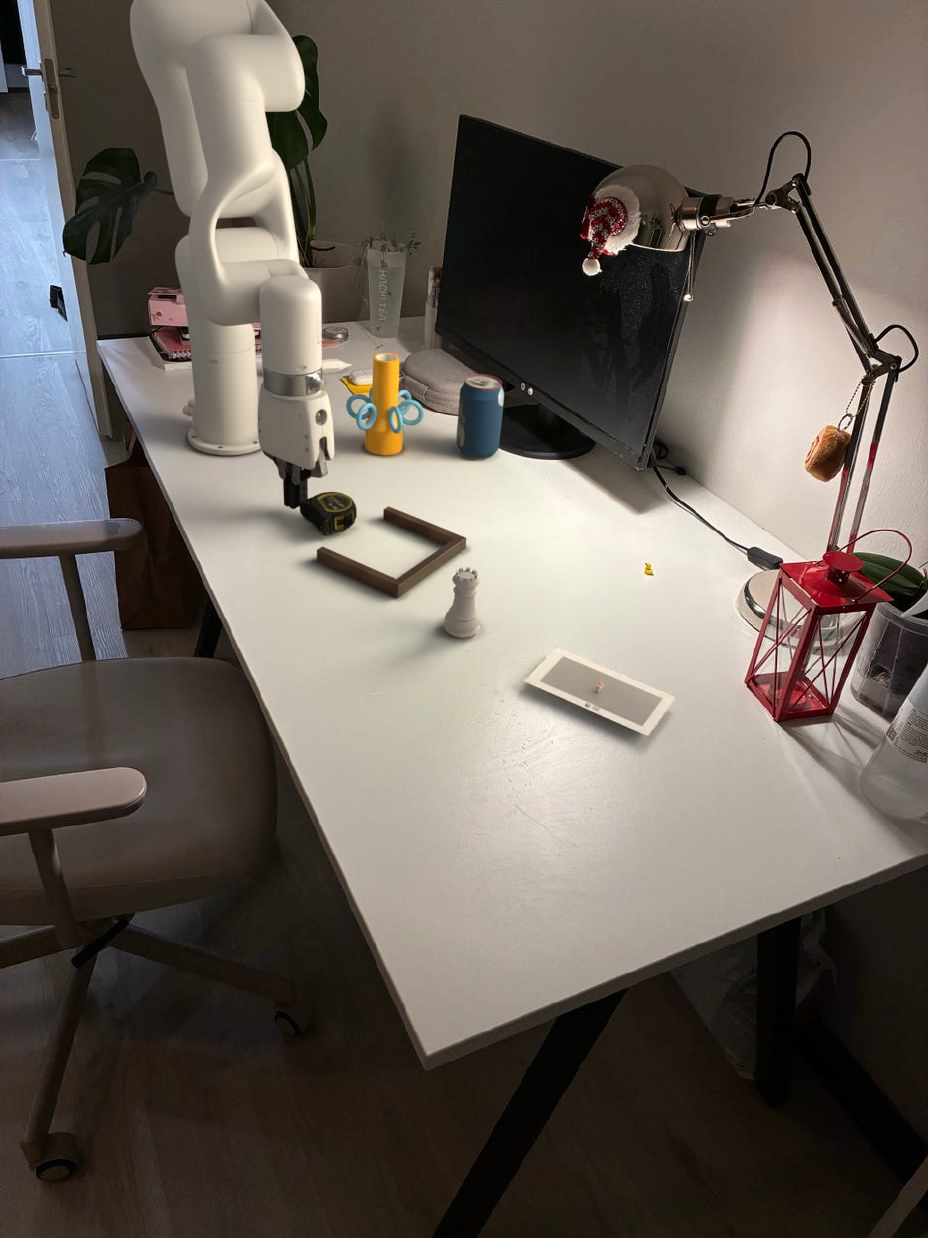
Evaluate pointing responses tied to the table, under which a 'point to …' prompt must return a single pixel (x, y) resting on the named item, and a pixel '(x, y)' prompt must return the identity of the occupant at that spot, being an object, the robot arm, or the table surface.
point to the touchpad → (601, 690)
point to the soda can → (479, 416)
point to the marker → (333, 365)
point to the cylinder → (384, 408)
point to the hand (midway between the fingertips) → (296, 503)
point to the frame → (414, 575)
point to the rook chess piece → (463, 605)
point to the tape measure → (329, 512)
